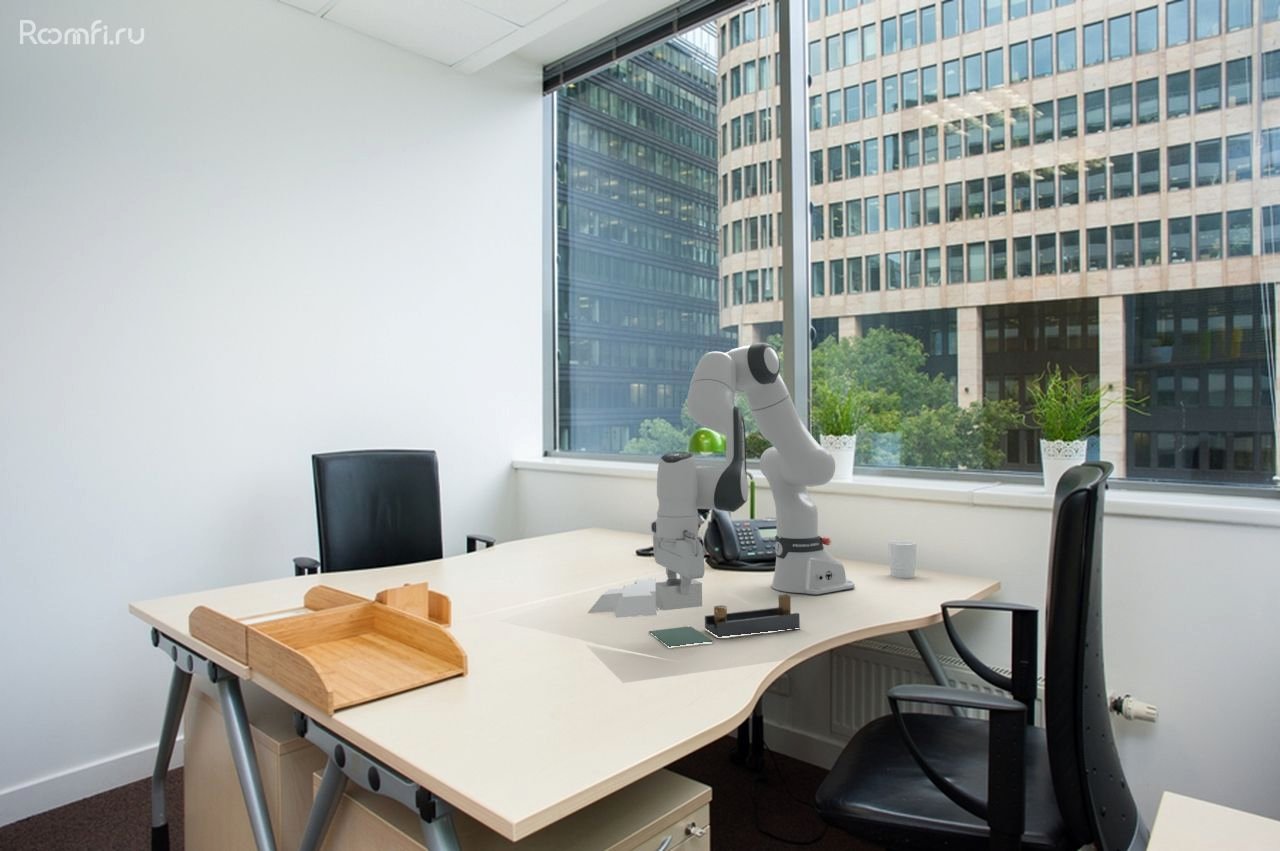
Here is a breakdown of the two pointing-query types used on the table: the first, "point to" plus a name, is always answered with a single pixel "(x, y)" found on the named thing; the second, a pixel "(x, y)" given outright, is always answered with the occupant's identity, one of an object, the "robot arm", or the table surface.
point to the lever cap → (678, 595)
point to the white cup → (902, 558)
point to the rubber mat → (680, 636)
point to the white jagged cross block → (629, 599)
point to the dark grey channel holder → (752, 620)
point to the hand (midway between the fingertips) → (678, 591)
